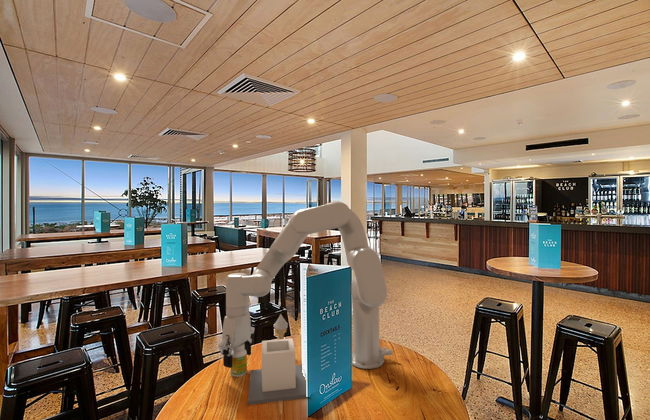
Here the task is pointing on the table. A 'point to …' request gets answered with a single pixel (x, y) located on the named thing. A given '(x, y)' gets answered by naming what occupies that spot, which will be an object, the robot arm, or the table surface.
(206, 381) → the table surface
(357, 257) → the robot arm
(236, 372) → the supplement bottle
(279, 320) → the ice cream cone
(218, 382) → the table surface
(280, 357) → the sleeve
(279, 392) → the mat
